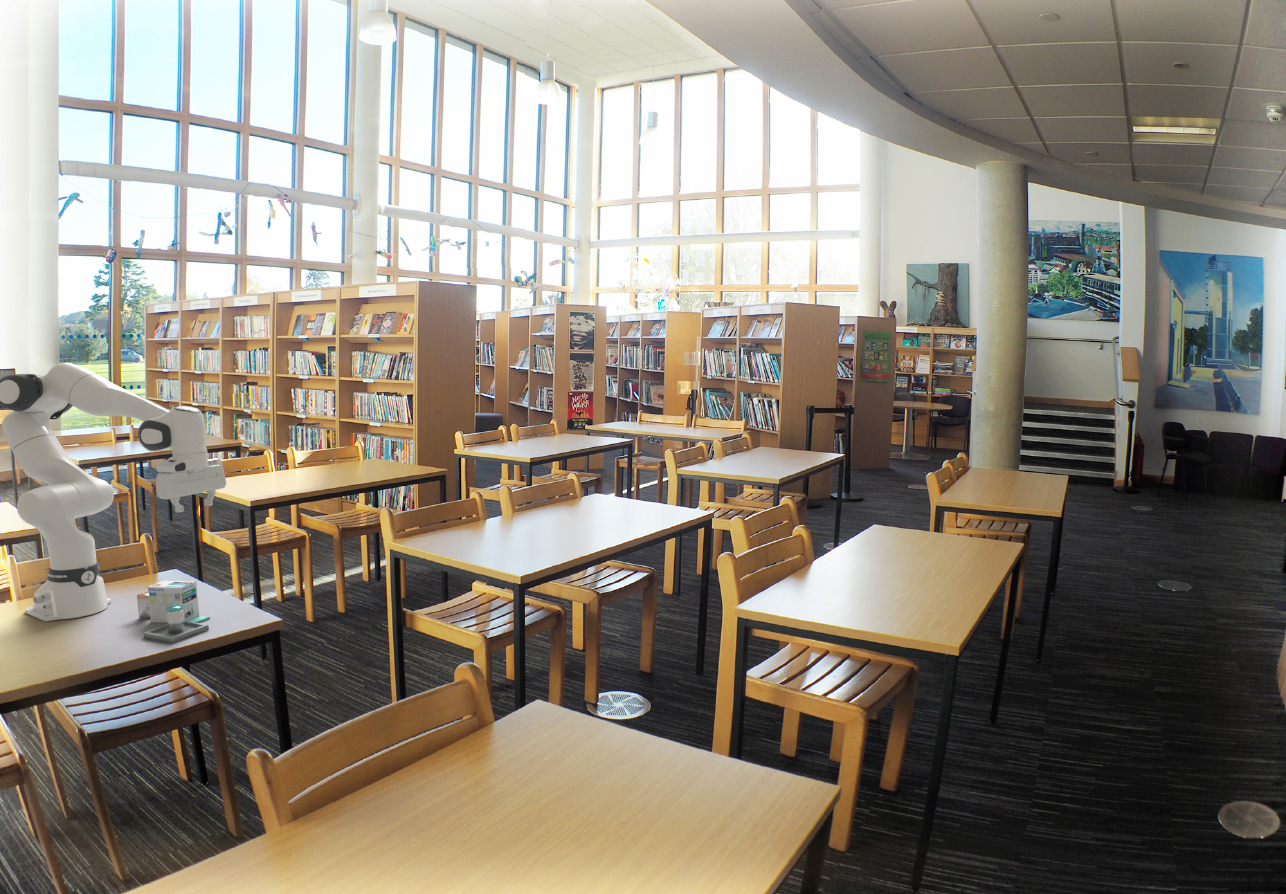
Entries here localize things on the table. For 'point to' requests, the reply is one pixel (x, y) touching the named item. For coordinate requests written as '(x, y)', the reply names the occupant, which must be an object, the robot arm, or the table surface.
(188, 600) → the light bulb box
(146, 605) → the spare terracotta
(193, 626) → the tray
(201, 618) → the label tile
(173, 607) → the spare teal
